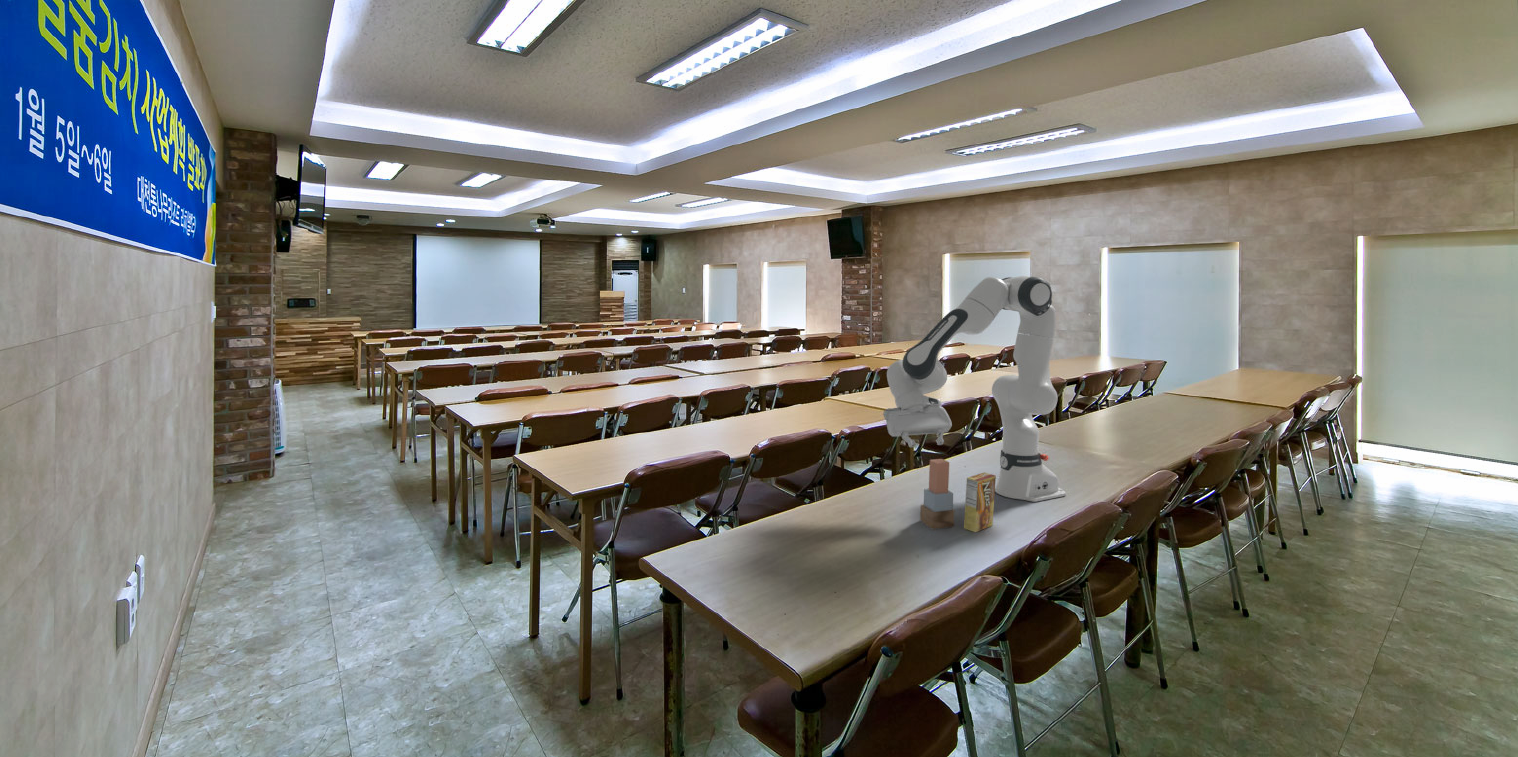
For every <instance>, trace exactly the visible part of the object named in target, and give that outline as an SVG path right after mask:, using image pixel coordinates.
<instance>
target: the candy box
mask: <svg viewBox="0 0 1518 757" xmlns="http://www.w3.org/2000/svg"><path fill="white" fill-rule="evenodd" d="M996 477H997V476H996V475H995V474H993V473H988V472H981V473H978V474H975V475H971V476H968V477H966V485H965V486H966V487H965V488H966V489H965V504H964V518H963V519H964V522H963V529H964V530H966V531H970V532H973V533H977V532H980V531H983V530H984V529H987V528H989V527H992V526H993V522H994V509H995V508H994V507H995V496H996V495H995V493H996V492H995V488H996V480H997V479H996Z"/></svg>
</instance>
